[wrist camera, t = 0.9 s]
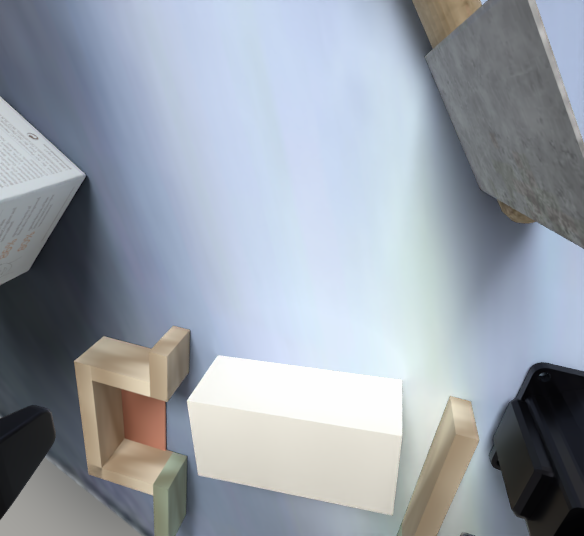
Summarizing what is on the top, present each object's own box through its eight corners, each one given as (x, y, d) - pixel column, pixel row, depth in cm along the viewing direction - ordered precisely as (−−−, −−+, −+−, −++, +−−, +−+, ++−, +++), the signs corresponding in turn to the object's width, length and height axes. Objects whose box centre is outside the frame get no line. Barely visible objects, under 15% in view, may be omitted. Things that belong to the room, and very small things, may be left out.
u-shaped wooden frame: (470, 401, 20) (479, 440, 18) (395, 584, 27) (394, 628, 25) (100, 307, 24) (69, 330, 21) (117, 491, 30) (95, 523, 28)
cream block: (401, 376, 21) (402, 436, 17) (393, 449, 23) (392, 515, 19) (219, 352, 23) (186, 400, 20) (226, 420, 25) (198, 475, 22)
